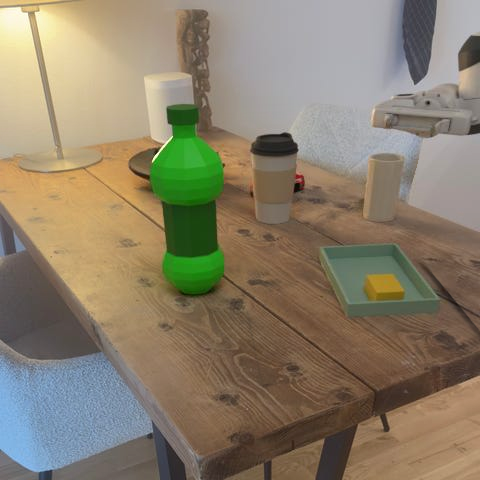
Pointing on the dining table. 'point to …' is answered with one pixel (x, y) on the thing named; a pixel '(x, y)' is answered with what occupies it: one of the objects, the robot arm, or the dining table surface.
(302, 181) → the race car
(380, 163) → the cup
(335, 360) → the dining table surface
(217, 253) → the plastic bottle
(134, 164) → the oil lamp
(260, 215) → the coffee cup
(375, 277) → the sponge
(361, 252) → the tray
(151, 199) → the dining table surface
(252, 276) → the dining table surface
